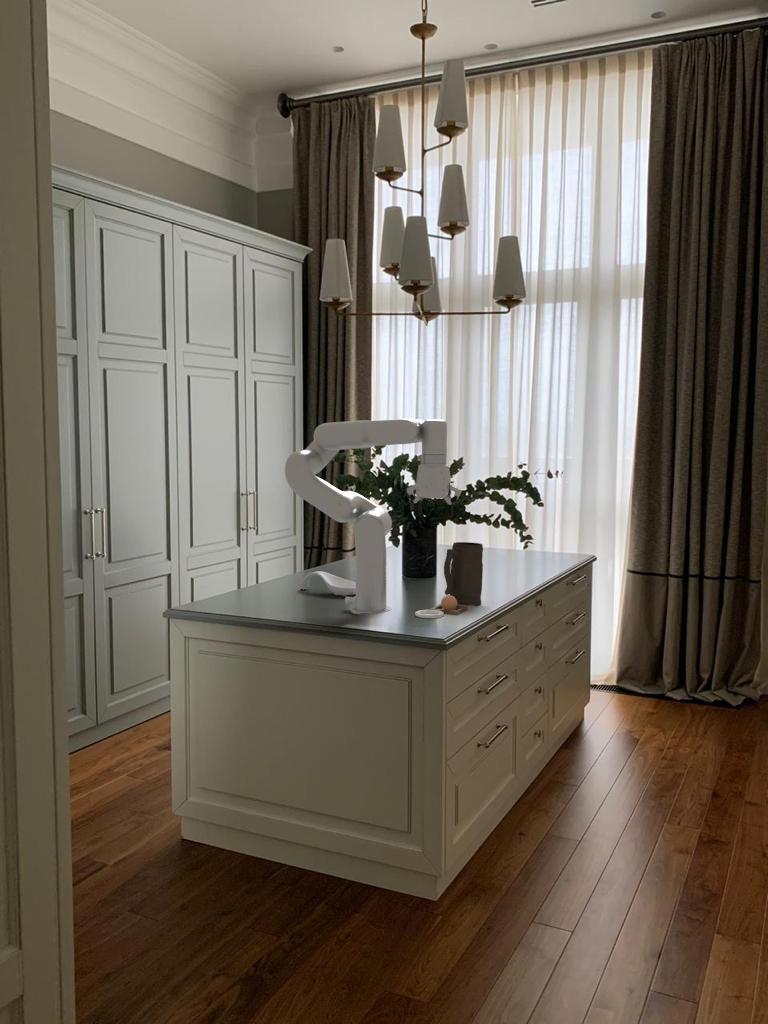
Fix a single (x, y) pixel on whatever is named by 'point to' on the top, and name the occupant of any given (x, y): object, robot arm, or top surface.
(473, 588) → the beer stein
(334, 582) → the spoon rest
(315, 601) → the top surface
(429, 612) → the octagonal white dish
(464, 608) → the tray
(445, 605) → the ball
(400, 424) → the robot arm
